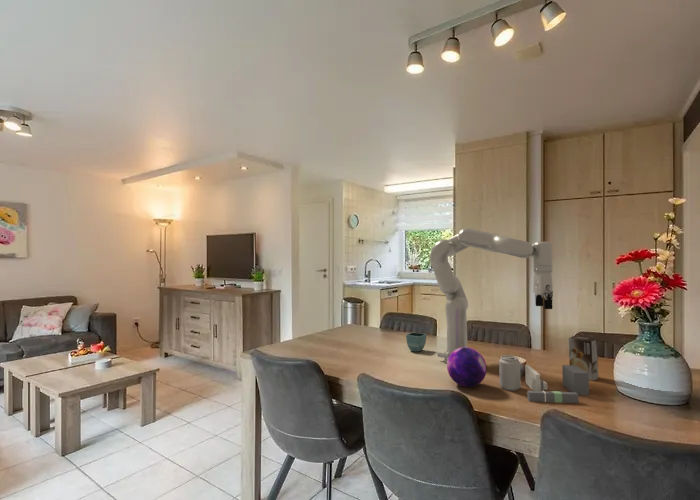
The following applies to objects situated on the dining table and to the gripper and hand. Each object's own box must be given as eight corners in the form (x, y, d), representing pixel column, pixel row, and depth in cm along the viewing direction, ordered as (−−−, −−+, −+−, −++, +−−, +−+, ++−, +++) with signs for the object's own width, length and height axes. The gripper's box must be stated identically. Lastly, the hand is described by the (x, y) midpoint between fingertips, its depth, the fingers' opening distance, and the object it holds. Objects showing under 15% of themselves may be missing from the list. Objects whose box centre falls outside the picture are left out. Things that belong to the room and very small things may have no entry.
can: (522, 392, 139) (522, 359, 139) (501, 391, 140) (501, 359, 141) (518, 385, 146) (517, 354, 147) (498, 384, 148) (497, 354, 148)
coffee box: (599, 377, 153) (598, 339, 154) (593, 381, 150) (592, 341, 150) (575, 372, 161) (574, 335, 161) (568, 375, 157) (567, 337, 157)
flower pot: (427, 349, 204) (426, 333, 204) (421, 353, 197) (420, 336, 197) (412, 348, 209) (411, 332, 209) (405, 351, 201) (405, 334, 202)
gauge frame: (529, 401, 130) (528, 378, 130) (514, 383, 148) (513, 363, 148) (600, 404, 127) (600, 380, 127) (576, 385, 144) (575, 365, 145)
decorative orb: (452, 377, 157) (452, 341, 157) (490, 383, 149) (489, 345, 150) (442, 388, 144) (441, 349, 144) (482, 395, 136) (481, 354, 137)
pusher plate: (540, 398, 132) (539, 378, 132) (525, 382, 148) (525, 365, 148) (556, 398, 131) (556, 378, 131) (540, 383, 147) (539, 365, 148)
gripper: (527, 268, 175) (527, 305, 175) (541, 270, 158) (542, 310, 158) (543, 268, 174) (544, 305, 174) (560, 269, 157) (561, 310, 157)
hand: (543, 307), depth 166 cm, fingers open, 9 cm apart
